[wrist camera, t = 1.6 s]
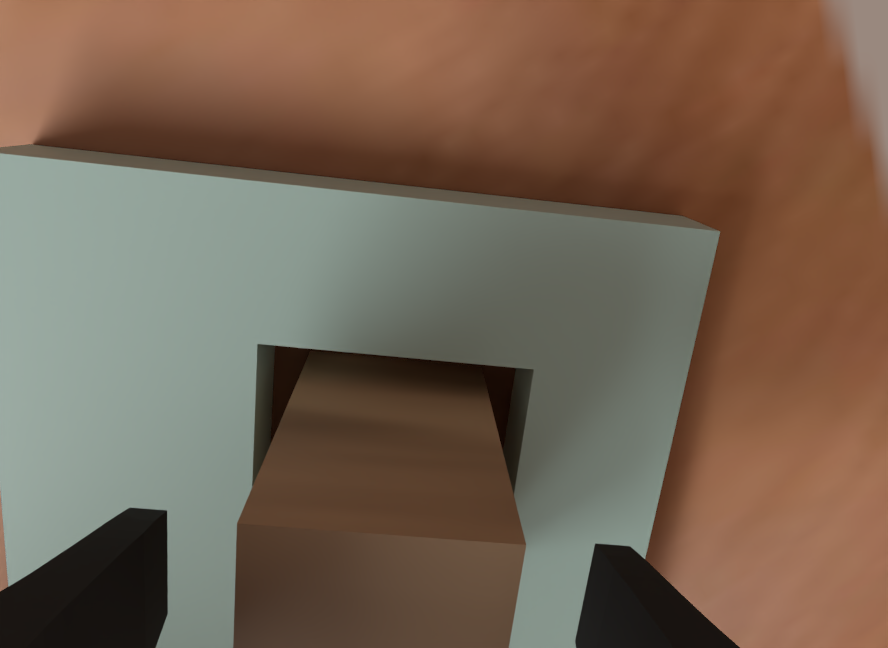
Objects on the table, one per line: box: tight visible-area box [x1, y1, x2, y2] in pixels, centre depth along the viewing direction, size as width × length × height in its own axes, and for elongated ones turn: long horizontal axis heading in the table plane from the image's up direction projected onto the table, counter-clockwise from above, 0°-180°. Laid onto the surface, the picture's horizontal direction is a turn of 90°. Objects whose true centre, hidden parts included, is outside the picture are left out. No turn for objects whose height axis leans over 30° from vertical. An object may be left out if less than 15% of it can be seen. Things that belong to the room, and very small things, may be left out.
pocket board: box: [0, 144, 720, 648], centre depth 16 cm, size 16×14×2 cm
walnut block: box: [233, 351, 526, 648], centre depth 14 cm, size 4×4×7 cm
